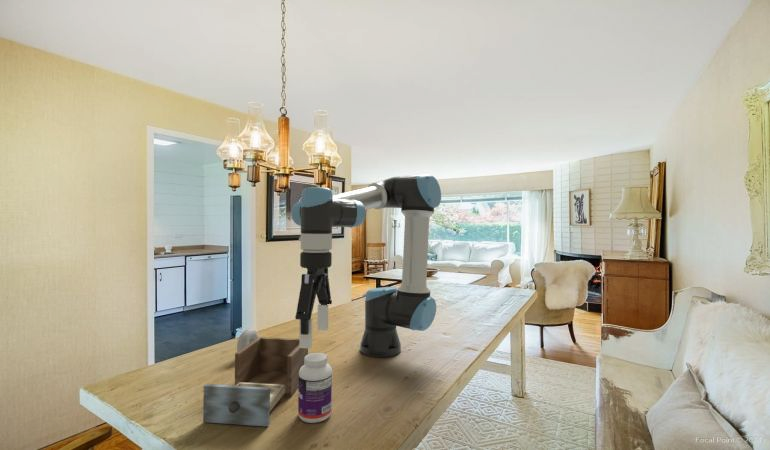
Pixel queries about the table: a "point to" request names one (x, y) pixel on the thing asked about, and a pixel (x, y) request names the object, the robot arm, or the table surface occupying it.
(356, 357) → the table surface
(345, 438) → the table surface
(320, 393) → the pill bottle
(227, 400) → the grey drawer
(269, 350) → the wooden drawer box
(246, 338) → the donut
